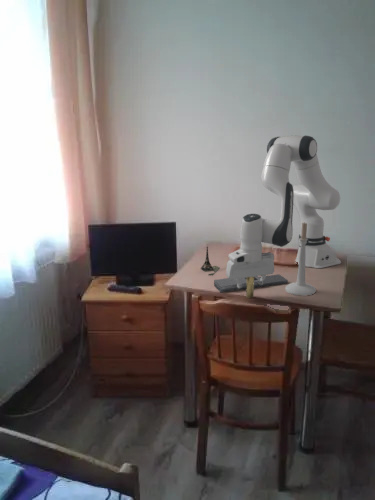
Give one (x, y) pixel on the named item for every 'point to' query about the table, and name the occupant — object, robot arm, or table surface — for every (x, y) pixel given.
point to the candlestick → (301, 271)
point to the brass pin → (250, 287)
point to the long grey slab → (231, 284)
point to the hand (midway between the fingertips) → (250, 286)
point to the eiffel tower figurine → (209, 265)
